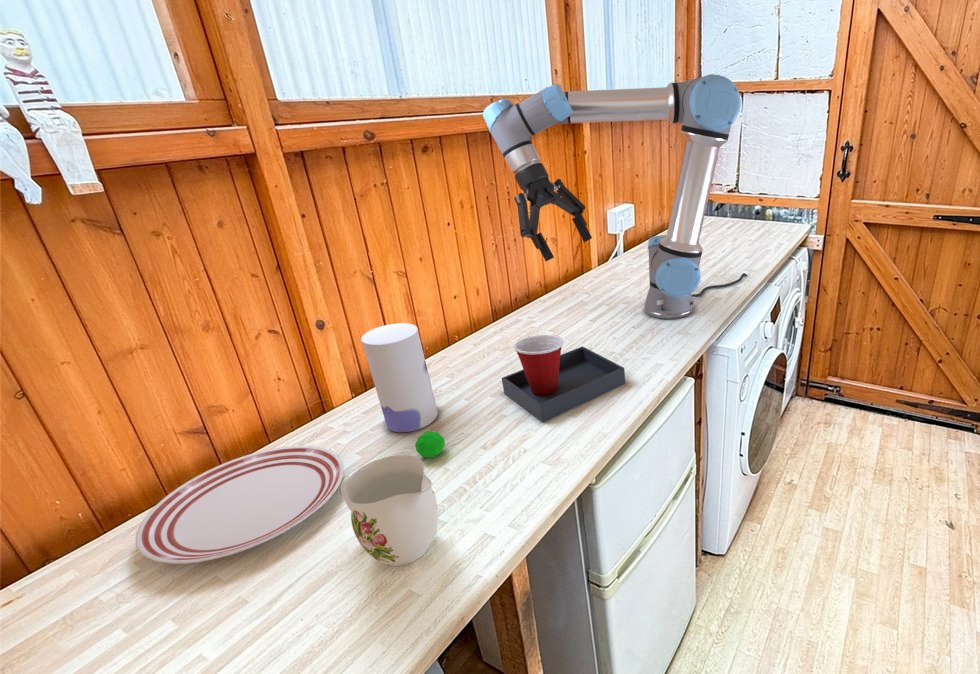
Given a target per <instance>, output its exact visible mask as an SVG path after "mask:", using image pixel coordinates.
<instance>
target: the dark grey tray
mask: <svg viewBox="0 0 980 674" xmlns="http://www.w3.org/2000/svg"><path fill="white" fill-rule="evenodd" d="M501 383H502V389H503V394H504V395H505V396H507V397H508V398H509V399H511V400H512V401H513V402H514V403H516V404H517V405H518V406H520V407H521V408H523V409H524V410H525V411H526V412H528V413H529V414H531V416H533V417H534V418H536V419H537V420H538V421H540V422H541V423H545V422H547V421H549V420H550V419H553V418H556V417H557V416H559V415H561V414H563V413H566V412H567V411H570V410H572V409H574V408H576V407H578V406H580V405H583V404H585V403H587V402H589V401H591V400H593V399H596V398H597V397H600V396H602V395H604V394H606V393H608V392H610V391H612V390H615V389H616V388H618V387H620V386H624V385H625V384H626V373H625V367H624V366H622V365H620V364H617V363H616V362H614V361H611V360H610V359H609V358H606V357H604V356H602V355H601V354H598V353H597V352H594V351H592V350H590V349H589V348H587V347H585V346H579V347H577V348H574V349H572V350H569V351H566V352H563V353H561V354H560V366H559V376H558V387H557V391H556V392H555V393H553V394H551V395H548V396H536V395H534V394H533V393H532V391H531V389H530V386H529V383H528V381H527V378H526V376H525V373H524V370H523V369H521V370H518V371H516V372H513V373H511V374H507V375H505V376H503V377H501Z"/></svg>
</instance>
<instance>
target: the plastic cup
mask: <svg viewBox="0 0 980 674" xmlns="http://www.w3.org/2000/svg"><path fill="white" fill-rule="evenodd" d="M564 343H565V341H564V339H563V338H562V337H561V336H558V335H552V334H535V335H530V336H529V335H528V336H526V337H523V338H520V339H518V340H516V341H515V342H514V343H513V345H512V348H513V349H514V351H515V352H516V354H517V356H518V358H519V361H520V363H521V366H522V370H524V373H525V376H526V378H527V381H528V383H529V386H530V389H531V391H532V393H533V394H534V395H536V396H548V395H551V394H553V393H555V392H556V391H557V387H558V376H559V366H560V355H561V354H562V347H564Z"/></svg>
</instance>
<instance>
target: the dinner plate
mask: <svg viewBox="0 0 980 674" xmlns="http://www.w3.org/2000/svg"><path fill="white" fill-rule="evenodd" d="M344 467H345V466H344V463H343V460H342V459H341V458H340V456H339V455H338V454H336V453H335V452H334V451H332V450H330V449H327V448H325V447H320V446H313V445H289V446H280V447H274V448H270V449H264V450H261V451H256V452H253V453H250V454H247V455H243V456H241V457H237V458H235V459H232V460H229V461H227V462H224V463H222V464H219V465H217V466H215V467H212V468H211V469H208V470H206V471H205V472H202V473H200V474H199V475H197V476H194V477H193V478H191V479H190V480H188V481H186V482H185V483H183V484H181V485H179V486H178V487H177V488H176V489H174V490H172V491H171V492H169V494H167V495H166V496H165V497H164V498H162V499H161V500H160V501H159V502H157V503H156V504H155V505H154V506H153V507H152V508H151V510H150V511H149V512H148V513H147V514H145V515H146V516H145V517H144V518H143V519H142V521H141V523H140V524H139V526H138V528H137V531H136V535H135V545H136V548H137V550H138V552H139V553H140V554H141V555H142V556H143V557H145V558H147V559H148V560H151V561H153V562H157V563H162V564H169V565H183V564H185V565H186V564H196V563H201V562H208V561H213V560H217V559H221V558H225V557H228V556H232V555H235V554H239V553H241V552H244V551H247V550H249V549H252V548H254V547H257V546H260V545H262V544H263V543H266V542H268V541H271V540H273V539H274V538H276V537H278V536H280V535H282V534H284V533H286V532H287V531H289V530H291V529H292V528H294V527H295V526H297V525H299V524H300V523H301V522H303V521H305V520H306V519H307V518H308V517H310V516H312V515H313V514H314V513H316V512H317V511H318V510H319V509H320V508H321V507H323V506H324V505H325V504H326V503H327V502H328V501H329V500H330V499H331V498H332V496H333V495H334V494H335V492H336V491H337V489H338V488H339V486H340V485H341V483H342V481H343V477H344V473H345V468H344Z"/></svg>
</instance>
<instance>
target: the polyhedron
mask: <svg viewBox="0 0 980 674" xmlns="http://www.w3.org/2000/svg"><path fill="white" fill-rule="evenodd" d="M445 444H446V441H445V437H443V436H442V434H440V432H438V431H432V430H431V431H430V430H427V431H424V432H423V433H422V434H420V435H419V436H418V437H417V438H416V442H415V445H414V447H415V450H416V452H417V454H419V455H420V456H421V457H422V458H430V459H431V458H432V459H433V458H435V457H436V456H437V455H439V454H441V453H442V451H443V449H444V447H445Z"/></svg>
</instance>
